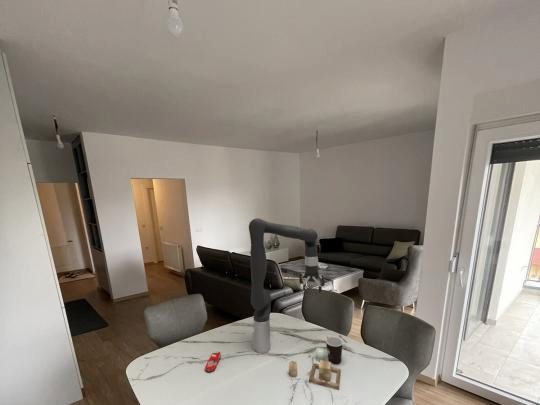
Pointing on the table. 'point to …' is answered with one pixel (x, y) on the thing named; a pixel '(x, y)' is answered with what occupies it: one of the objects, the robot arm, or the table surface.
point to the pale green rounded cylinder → (320, 354)
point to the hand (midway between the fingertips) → (312, 291)
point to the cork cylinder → (292, 369)
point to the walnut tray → (323, 382)
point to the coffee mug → (334, 349)
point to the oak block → (325, 370)
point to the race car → (213, 361)
